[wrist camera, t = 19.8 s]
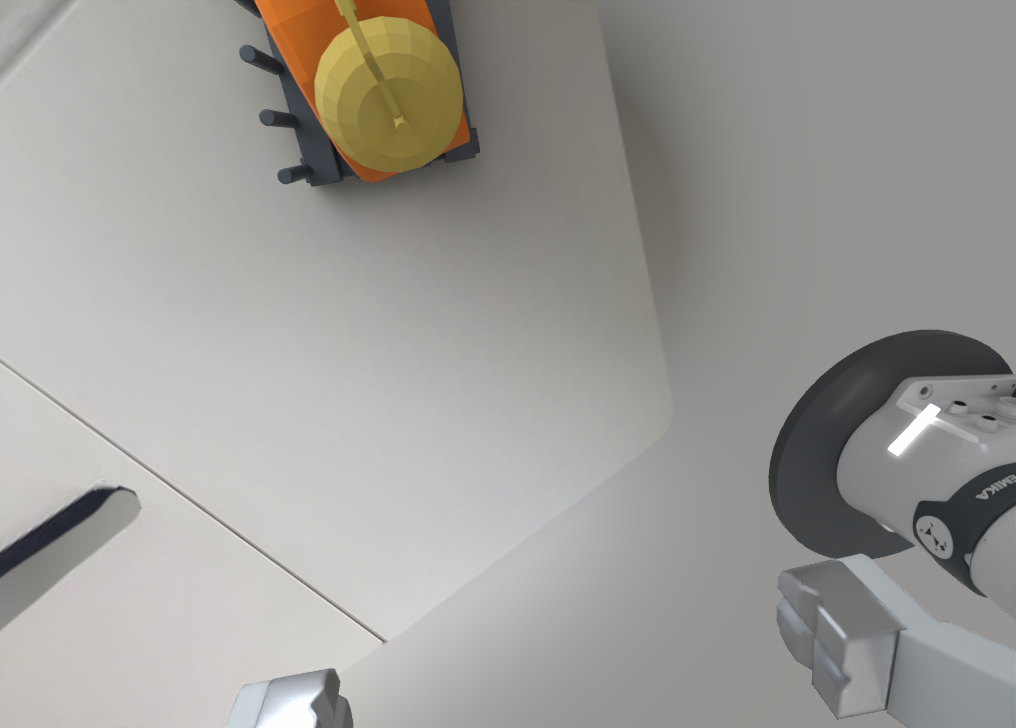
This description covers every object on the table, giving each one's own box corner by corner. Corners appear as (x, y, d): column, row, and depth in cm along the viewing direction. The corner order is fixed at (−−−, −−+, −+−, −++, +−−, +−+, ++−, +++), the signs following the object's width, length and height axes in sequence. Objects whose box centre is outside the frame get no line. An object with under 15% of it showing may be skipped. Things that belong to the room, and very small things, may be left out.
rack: (438, -84, 34) (442, -154, 26) (478, 155, 40) (493, 159, 32) (242, -55, 34) (183, -118, 25) (311, 184, 39) (281, 196, 31)
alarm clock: (268, -50, 31) (49, -316, 13) (367, -96, 31) (287, -428, 13) (378, 177, 37) (332, 216, 18) (463, 139, 37) (502, 140, 18)
